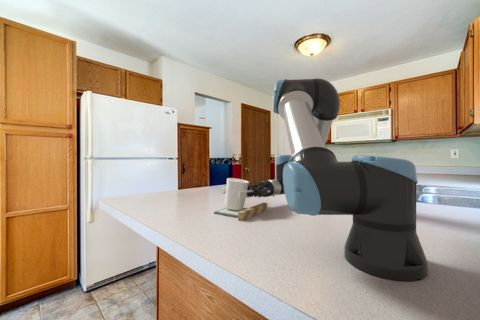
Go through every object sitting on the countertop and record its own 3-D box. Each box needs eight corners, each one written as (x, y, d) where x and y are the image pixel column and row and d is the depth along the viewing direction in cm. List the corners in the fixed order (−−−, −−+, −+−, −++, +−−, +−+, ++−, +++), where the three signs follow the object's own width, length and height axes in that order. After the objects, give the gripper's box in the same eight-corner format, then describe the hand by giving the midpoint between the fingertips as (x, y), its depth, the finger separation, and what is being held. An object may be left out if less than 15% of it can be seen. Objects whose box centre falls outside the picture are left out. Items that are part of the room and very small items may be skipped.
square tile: (239, 218, 84) (239, 216, 84) (213, 213, 91) (213, 211, 91) (256, 211, 95) (256, 209, 95) (232, 207, 102) (232, 205, 102)
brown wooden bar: (242, 221, 80) (242, 212, 80) (238, 220, 82) (238, 212, 82) (267, 209, 97) (267, 202, 97) (263, 209, 98) (263, 202, 98)
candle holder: (220, 203, 100) (224, 177, 99) (241, 204, 102) (245, 179, 102) (224, 209, 90) (229, 181, 90) (247, 211, 93) (252, 183, 92)
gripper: (288, 200, 93) (247, 207, 81) (253, 192, 114) (216, 197, 102) (288, 182, 93) (247, 187, 81) (252, 178, 114) (216, 181, 102)
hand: (230, 192), depth 92 cm, fingers open, 13 cm apart
